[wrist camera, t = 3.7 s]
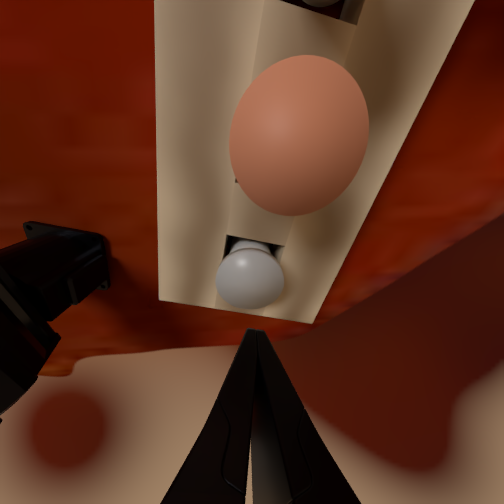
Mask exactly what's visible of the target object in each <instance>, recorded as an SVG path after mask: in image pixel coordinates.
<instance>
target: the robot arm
mask: <svg viewBox="0 0 504 504" xmlns="http://www.w3.org/2000/svg"><path fill="white" fill-rule="evenodd" d="M23 228H24V231H25V233H26V236H27V240H24V241H22V242H19V243H16V244H13V245H11V246H8V247H5V248H3V249H0V415H1V414H3V413H4V412H5V411H6V410H8V409H9V408H10V407H11V406H12V405H13V404H15V403H16V402H17V401H18V400H19V399H20V398H21V397H22V396H23V395H24V394H25V393H26V392H27V391H28V389H30V387H31V386H32V385H33V384H34V383H35V381H36V380H37V378H38V376H37V375H38V373H39V371H40V370H41V368H42V367H43V365H44V364H45V362H46V361H47V359H48V358H49V356H50V355H51V353H52V352H53V350H54V348H55V347H56V345H57V344H58V342H59V341H60V339H61V337H60V335H59V334H58V333H55V332H54V330H53V329H52V328H51V327H50V325H49V324H48V323H47V322H46V321H53V320H54V319H55V318H57V317H58V316H59V315H60V314H61V313H63V312H64V311H65V310H66V309H67V308H69V307H70V306H71V305H77V304H78V303H80V302H81V301H82V300H83V299H84V298H86V297H87V296H88V295H89V294H90V293H91V292H93V291H94V290H95V289H99V290H107V289H108V288H109V287H110V279H109V271H108V265H107V259H106V254H105V248H104V241H103V237H102V236H101V235H100V234H98V233H94V232H89V231H83V230H78V229H72V228H67V227H61V226H56V225H51V224H45V223H40V222H34V221H28V222H25V223H23ZM95 238H96V239H97V240H96V239H95ZM1 422H2V419H1V418H0V423H1ZM250 440H251V461H252V491H253V504H361V502H360V501H359V499H358V498H357V496H356V494H355V493H354V491H353V490H352V488H351V486H350V485H349V483H348V482H347V480H346V479H345V477H344V475H343V473H342V472H341V470H340V469H339V467H338V465H337V464H336V462H335V461H334V459H333V457H332V456H331V454H330V452H329V451H328V449H327V447H326V446H325V444H324V443H323V441H322V439H321V437H320V436H319V434H318V432H317V430H316V428H315V427H314V425H313V423H312V421H311V419H310V417H309V415H308V413H307V411H306V410H305V409H304V406H303V404H302V402H301V400H300V398H299V396H298V394H297V392H296V391H295V388H294V387H293V385H292V383H291V381H290V379H289V377H288V375H287V373H286V371H285V369H284V368H283V365H282V363H281V361H280V360H279V358H278V356H277V354H276V352H275V350H274V348H273V346H272V344H271V342H270V340H269V338H268V336H267V335H266V333H265V331H264V330H258V329H257V330H255V329H252V328H247V330H246V332H245V334H244V337H243V339H242V341H241V344H240V346H239V348H238V351H237V353H236V355H235V357H234V360H233V362H232V364H231V367H230V369H229V371H228V374H227V376H226V378H225V381H224V383H223V385H222V387H221V390H220V392H219V394H218V397H217V399H216V401H215V403H214V406H213V408H212V410H211V412H210V414H209V417H208V419H207V421H206V423H205V425H204V427H203V429H202V431H201V433H200V435H199V436H198V438H197V440H196V442H195V444H194V446H193V447H192V449H191V451H190V453H189V454H188V456H187V458H186V460H185V461H184V463H183V465H182V467H181V468H180V470H179V472H178V474H177V476H176V477H175V479H174V481H173V482H172V484H171V486H170V488H169V489H168V491H167V493H166V495H165V496H164V498H163V500H162V502H161V503H160V504H245V496H246V487H247V475H248V464H249V452H250Z"/></svg>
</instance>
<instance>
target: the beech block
mask: <svg viewBox="0 0 504 504" xmlns="http://www.w3.org/2000/svg"><path fill="white" fill-rule="evenodd" d="M474 1H475V0H345V1H344V5H343V8H342V11H341V15H340V18H339V20H338V19H335V18H332V17H329V16H326V15H323V14H320V13H317V12H314V11H311V10H308V9H305V8H301V7H298V6H295V5H292V4H289V3H286V2H283V1H280V0H154V12H155V76H156V140H157V205H158V269H159V300H164V301H170V302H176V303H183V304H189V305H196V306H202V307H208V308H215V309H221V310H228V311H234V312H240V313H247V314H253V315H260V316H266V317H273V318H279V319H285V320H292V321H298V322H305V323H311V324H312V323H313V321H314V319H315V317H316V315H317V313H318V311H319V309H320V307H321V305H322V303H323V301H324V299H325V297H326V295H327V293H328V291H329V289H330V287H331V285H332V283H333V281H334V279H335V277H336V275H337V273H338V271H339V269H340V267H341V265H342V263H343V261H344V259H345V257H346V255H347V253H348V251H349V249H350V248H351V246H352V244H353V242H354V240H355V238H356V236H357V234H358V232H359V230H360V228H361V226H362V224H363V222H364V220H365V218H366V216H367V214H368V212H369V210H370V208H371V206H372V204H373V202H374V200H375V198H376V196H377V194H378V192H379V190H380V188H381V186H382V184H383V182H384V180H385V178H386V176H387V174H388V172H389V170H390V168H391V166H392V164H393V162H394V160H395V158H396V156H397V154H398V152H399V150H400V148H401V146H402V144H403V142H404V140H405V138H406V136H407V134H408V132H409V130H410V128H411V126H412V124H413V122H414V120H415V118H416V116H417V114H418V112H419V110H420V108H421V106H422V104H423V102H424V100H425V98H426V96H427V94H428V92H429V90H430V88H431V86H432V84H433V82H434V80H435V78H436V76H437V74H438V72H439V70H440V68H441V66H442V64H443V62H444V60H445V58H446V56H447V54H448V52H449V50H450V48H451V46H452V44H453V42H454V40H455V38H456V36H457V34H458V32H459V30H460V28H461V26H462V24H463V22H464V20H465V19H466V17H467V15H468V13H469V11H470V9H471V7H472V5H473V3H474ZM299 55H315V56H320V57H324V58H327V59H329V60H332V61H334V62H336V63H337V64H339V65H340V66H342V67H343V68H344V69H345V70H346V71H347V72H348V73H350V74H351V76H352V77H353V78H354V80H355V81H356V82H357V84H358V86H359V87H360V89H361V91H362V93H363V96H364V99H365V101H366V106H367V110H368V117H369V137H368V144H367V148H366V152H365V156H364V158H363V161H362V164H361V166H360V168H359V170H358V172H357V174H356V176H355V177H354V179H353V180H352V182H351V183H350V184H349V186H348V187H347V188H346V190H345V191H344V192H343V193H342V194H341V195H340V196H339V197H337V198H336V199H335V200H334V201H333V202H331V203H330V204H328V205H327V206H325V207H323V208H321V209H319V210H317V211H315V212H312V213H309V214H305V215H299V216H283V215H278V214H274V213H271V212H269V211H266V210H264V209H263V208H261V207H259V206H258V205H257V204H255V203H254V202H253V201H252V200H251V199H250V198H249V197H248V196H247V195H246V194H245V193H244V191H243V190H242V188H241V187H240V185H239V183H238V181H237V179H236V177H235V175H234V172H233V169H232V165H231V160H230V153H229V137H230V129H231V124H232V119H233V116H234V113H235V110H236V108H237V106H238V103H239V101H240V99H241V98H242V96H243V94H244V93H245V91H246V89H247V88H248V87H249V86H250V84H251V83H252V82H253V81H254V80H255V79H256V78H257V77H258V76H259V75H260V74H261V73H262V72H263V71H264V70H266V69H267V68H269V67H270V66H271V65H273V64H275V63H277V62H279V61H281V60H284V59H287V58H289V57H293V56H299ZM229 235H231V236H236V237H242V238H247V239H252V240H257V241H262V242H267V243H272V244H273V247H272V251H271V255H273V256H274V257H275V258H276V259H277V261H278V262H279V264H280V266H281V268H282V272H283V276H284V287H283V290H282V292H281V294H280V296H279V297H278V298H277V299H276V300H275V301H274V302H273V303H271V304H269V305H268V306H265V307H263V308H259V309H241V308H237V307H235V306H232V305H230V304H229V303H227V302H226V301H225V300H224V299H223V298H222V297H221V296H220V295H219V293H218V291H217V288H216V283H215V280H216V274H217V271H218V268H219V265H220V263H221V262H222V260H223V259H224V258H225V254H226V248H227V243H228V237H229Z"/></svg>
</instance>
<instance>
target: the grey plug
mask: <svg viewBox="0 0 504 504" xmlns="http://www.w3.org/2000/svg"><path fill="white" fill-rule="evenodd" d="M215 283H216V288H217V291H218V293H219V295H220V296H221V297H222V298H223V299H224V300H225V301H226V302H227V303H229V304H230V305H232V306H235V307H237V308H241V309H259V308H263V307H265V306H268V305H269V304H271V303H273V302H274V301H275V300H276V299H277V298H278V297H279V296H280V294H281V292H282V290H283V287H284V276H283V272H282V268H281V266H280V264H279V262H278V261H277V259H276V258H275V257H274V256H273V255H271V250H270V245H269V243H267V242H262V241H257V240H252V239H247V238H242V237H236V236H234V238H233V240H232V243H231V247H230V252H229V254H228V255H227V256H226V257H225V258H224V259H223V260H222V262H221V263H220V265H219V268H218V271H217V274H216V280H215Z"/></svg>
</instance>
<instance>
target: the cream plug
mask: <svg viewBox="0 0 504 504" xmlns="http://www.w3.org/2000/svg"><path fill="white" fill-rule="evenodd" d="M302 1H304V2H305V3H307V4H308V5H311V6H314V7H327V6H330V5H332V4H334V3H336V2H338V1H339V0H302Z"/></svg>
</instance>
